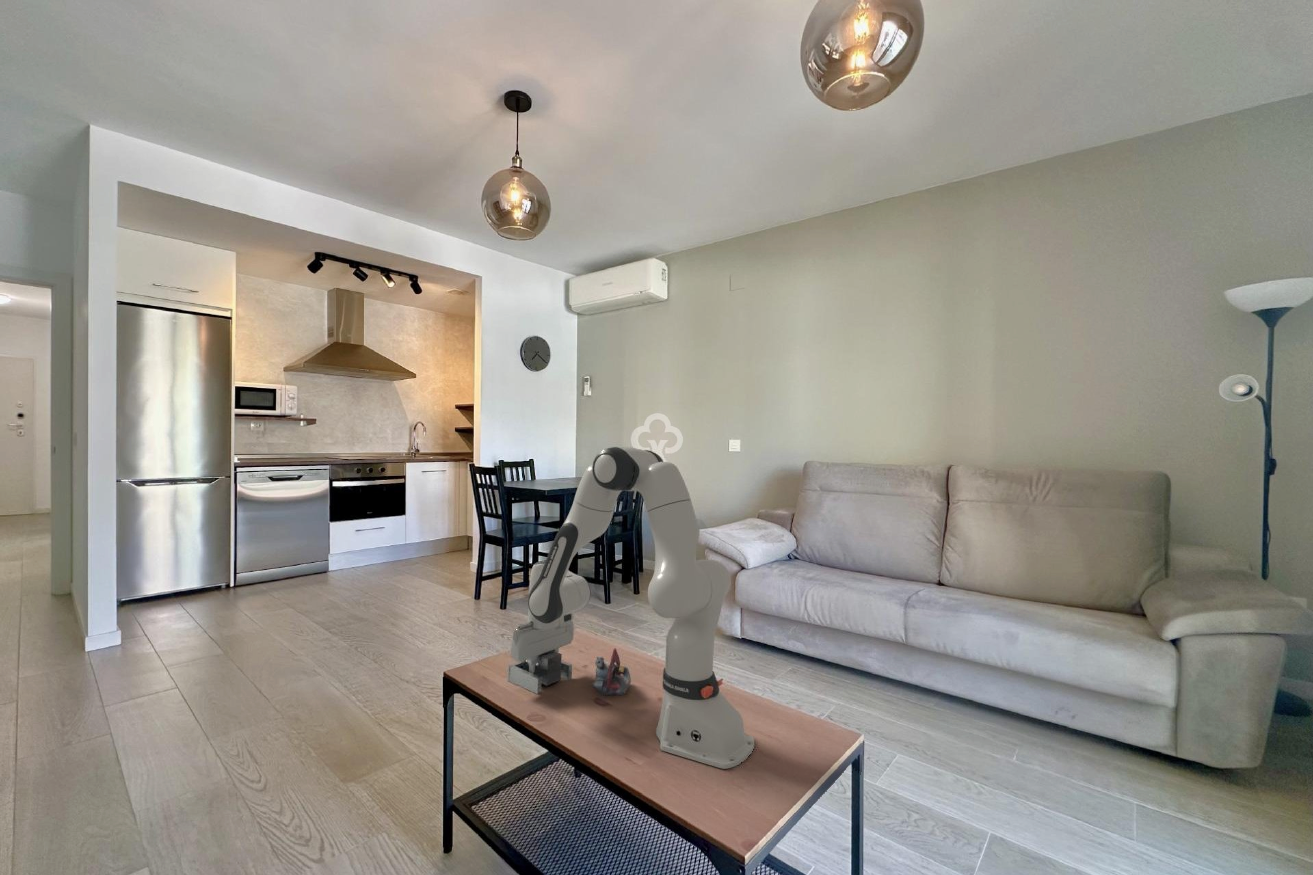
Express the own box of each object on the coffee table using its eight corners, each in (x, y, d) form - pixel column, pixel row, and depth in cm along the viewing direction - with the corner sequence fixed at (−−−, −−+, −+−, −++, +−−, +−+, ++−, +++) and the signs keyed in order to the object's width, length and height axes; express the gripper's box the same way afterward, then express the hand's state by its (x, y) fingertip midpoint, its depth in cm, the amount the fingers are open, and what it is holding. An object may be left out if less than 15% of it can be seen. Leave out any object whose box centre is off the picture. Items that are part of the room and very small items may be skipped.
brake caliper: (632, 692, 136) (607, 652, 137) (599, 714, 137) (574, 674, 139) (642, 674, 147) (618, 637, 148) (611, 695, 148) (587, 658, 150)
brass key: (627, 671, 154) (627, 666, 154) (624, 676, 151) (624, 670, 151) (603, 668, 156) (604, 663, 156) (600, 673, 153) (600, 668, 153)
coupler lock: (560, 679, 145) (561, 651, 146) (546, 685, 141) (548, 656, 142) (536, 669, 151) (537, 642, 152) (522, 675, 147) (523, 647, 148)
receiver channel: (571, 678, 148) (572, 653, 148) (537, 693, 138) (538, 667, 138) (541, 666, 155) (542, 642, 156) (507, 680, 146) (508, 654, 146)
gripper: (521, 629, 137) (519, 683, 136) (577, 612, 153) (576, 660, 153) (506, 624, 140) (504, 676, 140) (562, 607, 157) (561, 654, 156)
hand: (542, 667), depth 146 cm, fingers closed on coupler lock, 5 cm apart
